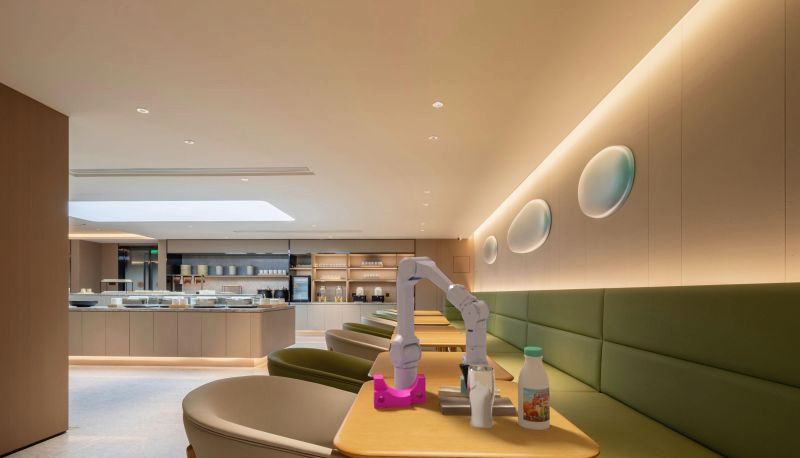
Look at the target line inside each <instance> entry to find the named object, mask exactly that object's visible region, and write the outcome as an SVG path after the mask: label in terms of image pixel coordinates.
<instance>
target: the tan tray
mask: <svg viewBox="0 0 800 458" xmlns="http://www.w3.org/2000/svg"><path fill="white" fill-rule="evenodd" d="M437 392H438V394H437V395H438V396H437V397H438V398H437V399H438V401H439V397H469V395H468V393H461V386H453V385H440V386H439V388H438V391H437ZM495 397H501V389H496V388H495Z"/></svg>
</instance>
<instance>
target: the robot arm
mask: <svg viewBox="0 0 800 458" xmlns="http://www.w3.org/2000/svg"><path fill="white" fill-rule="evenodd" d="M397 267H398V268H397V269H398V270H397V271H398V274H397V276H396V332H397V333H396V336H395V337H394V338H393V339H392V340H391V343H390V350H389V352H388V357H389V362H390V363H391V364H392V367H394V371H393V372H394V374H393V376H394V377H393V378H394V379H393V381H394V383H393V385H394V387H393V389H395V390H404V389H407V388H409V387H410V386H411V385H412V384H413V383H414V382H415V380H416V377H417V374H418V365H419V361H420V360H421V358H422V355H423V351H422V348H421V344H420V339H419V337H418V336H416V335H415V296H414V294H415V289H414V287H415V285H416V284H417V283H418V282H419V281H420V280H422V279H428V280H429V281H431V283H433V284H434V285H436V286H437V287H438V288H439V289H441V290H442V291H443V292H444V293H445V297H446V300H447V301H448V302H450V303H451V304H452V305H453V306H454V307H455V308H456V309H457V310H458V311H459V312H460V315H461V317H462V320H463V322H464V327H465V353H464V354H461V359H462V360H461V363H459V364H458V367H459V369H460V371H461V372H462V373H461V374H462V375H463V376H464V380H465V385H466V389H467V390H468V367H469V366H471V365H488V366H490V364H489V362H488V360H487V320H488V319H489V318H490V315H491V308H490V305H489V304H488V303H487V302H486V301H485V300H483V299H481V300H480V299H478V298H477V296H475V295H472V293H471V292H470V291H468V290H467V289H466V286H465V285H464V284H460V283H456V284H454V283H453V282H452V281H451V280H450V279H449V278H448V276H446V275H445V274H444V273H443V272H442V271H441V270H440V269H439V267H438V266H437V264H436V262H435V261H433V260H432V259H431V258H430V257H429V256H415V257H413V256H412V257H410V256H405V257H404V258H402V260H400V261H399V262H398V263H397Z"/></svg>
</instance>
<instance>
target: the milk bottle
mask: <svg viewBox="0 0 800 458" xmlns="http://www.w3.org/2000/svg"><path fill="white" fill-rule="evenodd" d="M523 353H524V354H523V357H524V362H523V365H522V368H521V370H520V373H519V374H518V381H517V425H518V426H520V427H522V428H523V429H529V430H536V431H538V430H539V431H542V430H543V431H544V430H547V429H549V428H550V426H551V425H550V424H551V422H550V421H551V420H550V419H551V418H550V417H551V415H550V412H551V408H550V406H551V404H550V402H551V401H550V398H551V397H550V381H549V380H550V379H549V377H548V374H547V371H546V370H545V367H544V363H543V358H544V349H543V348H542V347H540V346H539V347H538V346H526V347H524V348H523Z"/></svg>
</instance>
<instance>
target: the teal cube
mask: <svg viewBox="0 0 800 458" xmlns="http://www.w3.org/2000/svg"><path fill="white" fill-rule="evenodd" d="M460 387H461V393H468V390H467V389H466V385H465V380H464V376H463V374H462V375H460Z"/></svg>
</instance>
